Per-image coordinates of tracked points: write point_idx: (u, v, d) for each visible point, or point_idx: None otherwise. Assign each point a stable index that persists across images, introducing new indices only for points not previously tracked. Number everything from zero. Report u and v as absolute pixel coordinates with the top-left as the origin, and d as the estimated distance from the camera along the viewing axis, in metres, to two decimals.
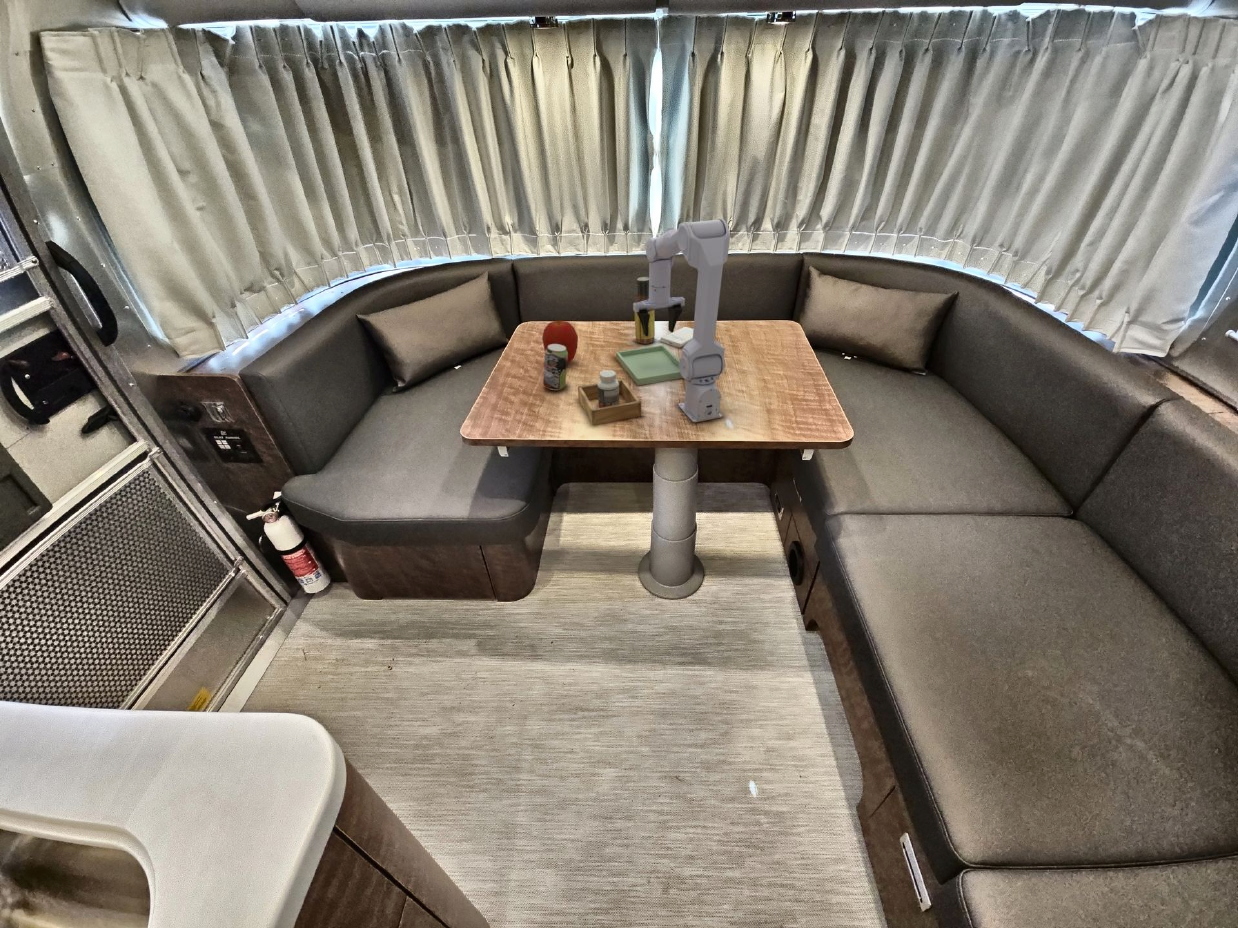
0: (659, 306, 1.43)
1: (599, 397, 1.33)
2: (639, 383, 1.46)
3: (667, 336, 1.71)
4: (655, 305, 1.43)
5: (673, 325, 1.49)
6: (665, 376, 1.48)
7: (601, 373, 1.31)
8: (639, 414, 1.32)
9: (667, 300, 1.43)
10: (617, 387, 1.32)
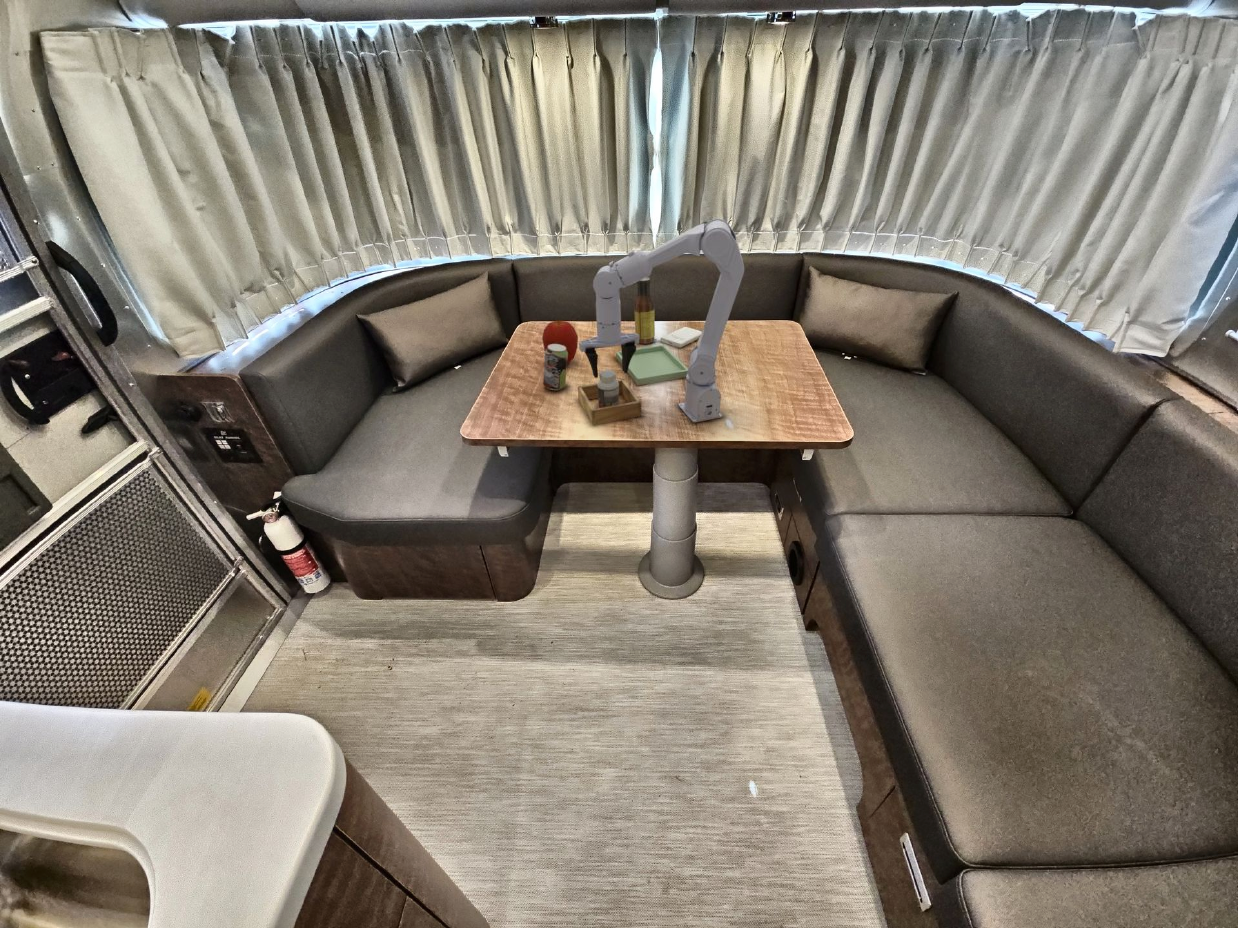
0: (608, 345, 1.25)
1: (599, 397, 1.33)
2: (639, 383, 1.46)
3: (667, 336, 1.71)
4: (603, 344, 1.25)
5: (626, 365, 1.31)
6: (665, 376, 1.48)
7: (601, 373, 1.31)
8: (639, 414, 1.32)
9: (617, 338, 1.25)
10: (617, 387, 1.32)
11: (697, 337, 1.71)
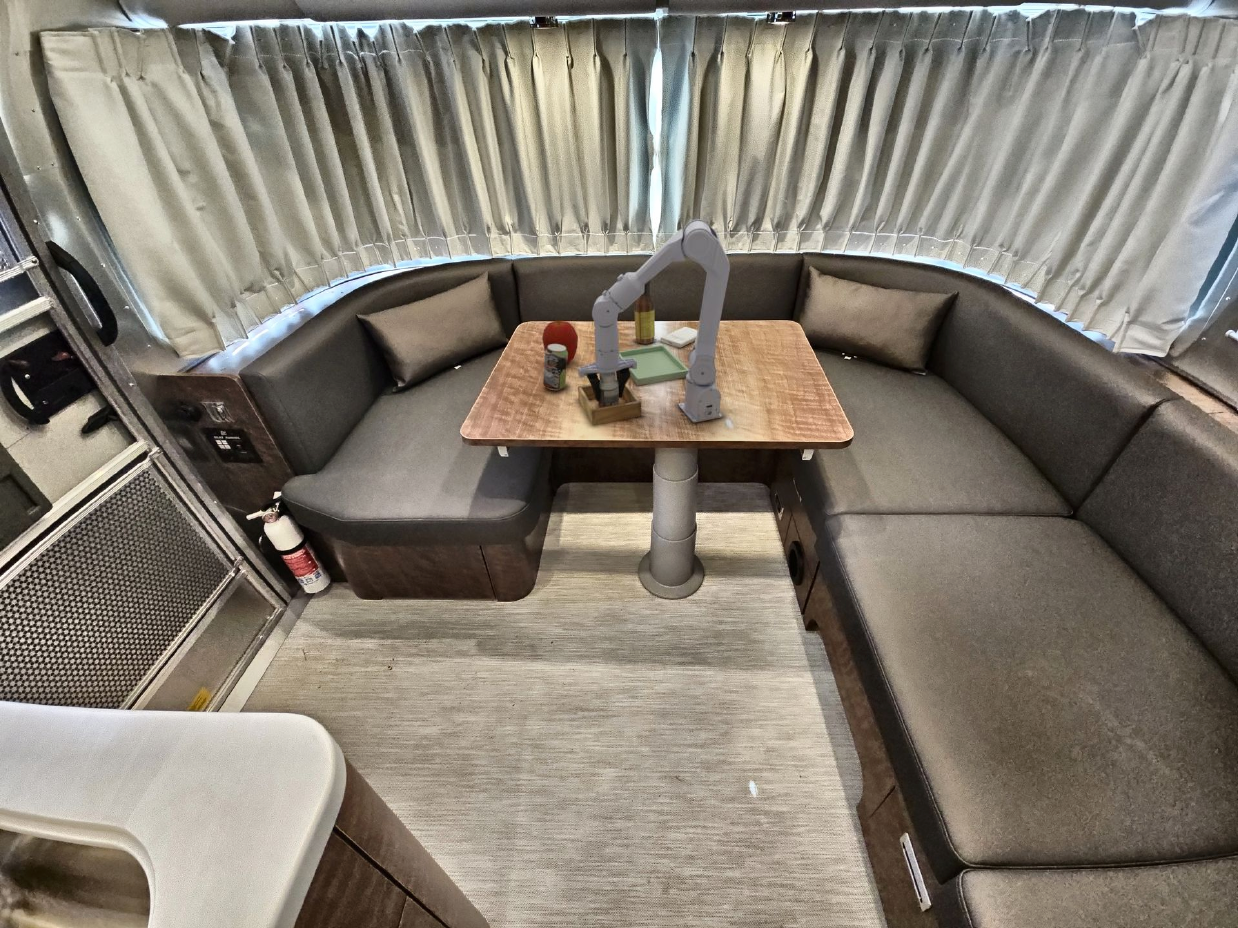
0: (607, 371, 1.27)
1: None
2: (639, 383, 1.46)
3: (667, 336, 1.71)
4: (602, 370, 1.27)
5: (621, 390, 1.33)
6: (665, 376, 1.48)
7: (601, 373, 1.31)
8: (639, 414, 1.32)
9: (616, 364, 1.28)
10: (617, 387, 1.32)
11: None
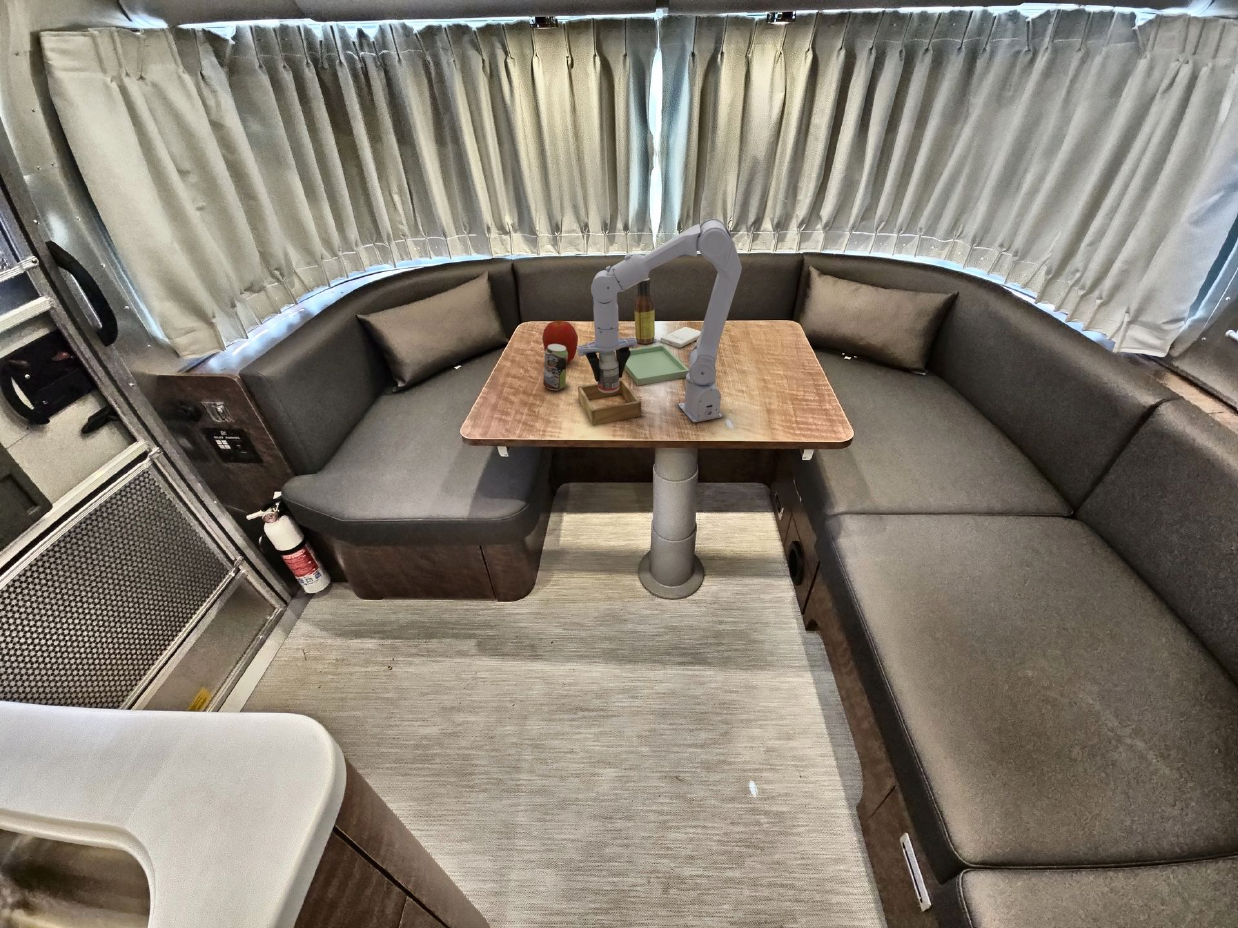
0: (606, 350, 1.24)
1: None
2: (639, 383, 1.46)
3: (667, 336, 1.71)
4: (601, 349, 1.24)
5: (621, 370, 1.30)
6: (665, 376, 1.48)
7: (600, 352, 1.28)
8: (639, 414, 1.32)
9: (615, 343, 1.25)
10: (617, 367, 1.29)
11: (697, 337, 1.71)
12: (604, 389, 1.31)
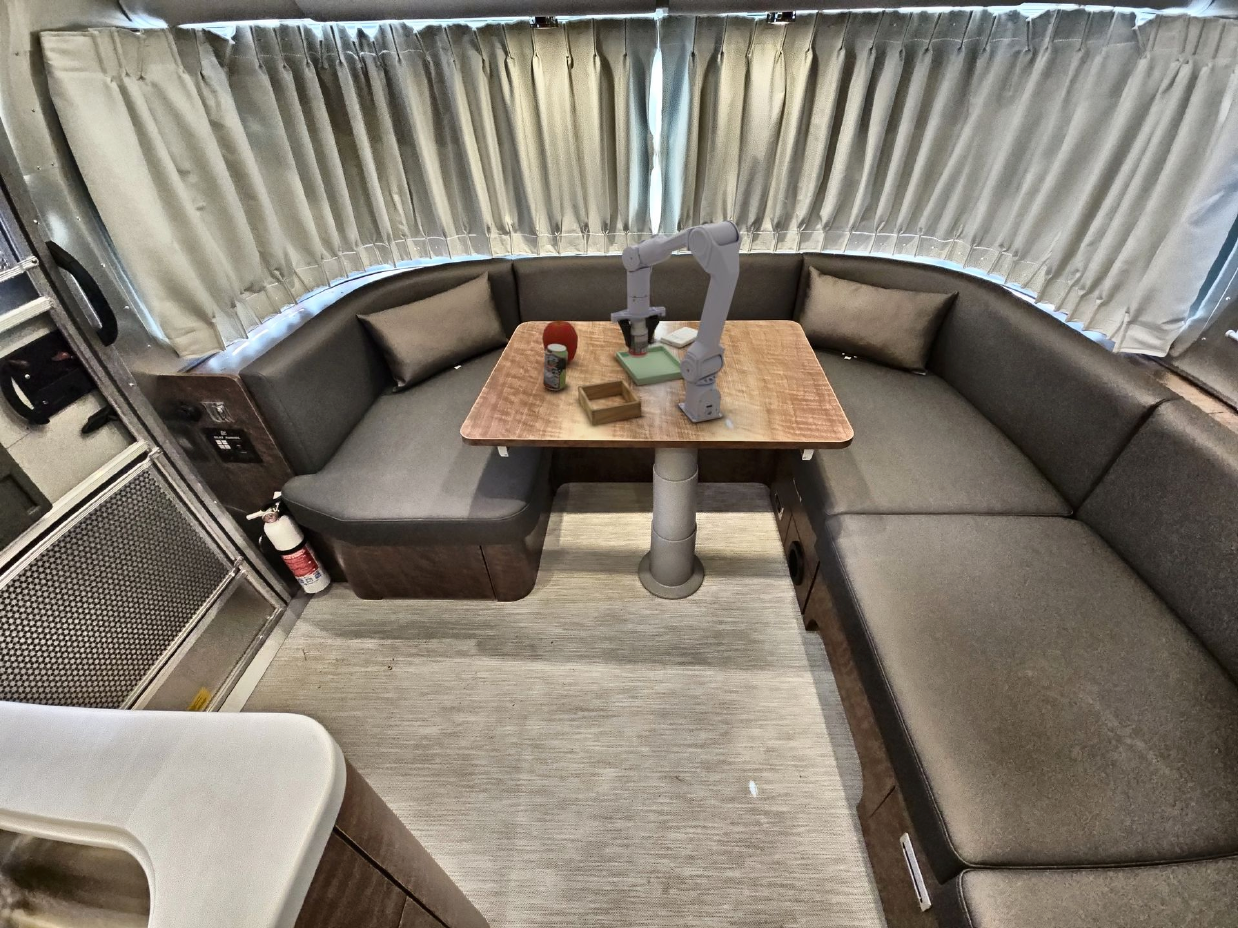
0: (638, 317, 1.36)
1: None
2: (639, 383, 1.46)
3: (667, 336, 1.71)
4: (634, 316, 1.36)
5: (650, 336, 1.42)
6: (665, 376, 1.48)
7: (632, 320, 1.40)
8: (639, 414, 1.32)
9: (646, 310, 1.36)
10: (646, 333, 1.40)
11: None
12: (634, 354, 1.43)
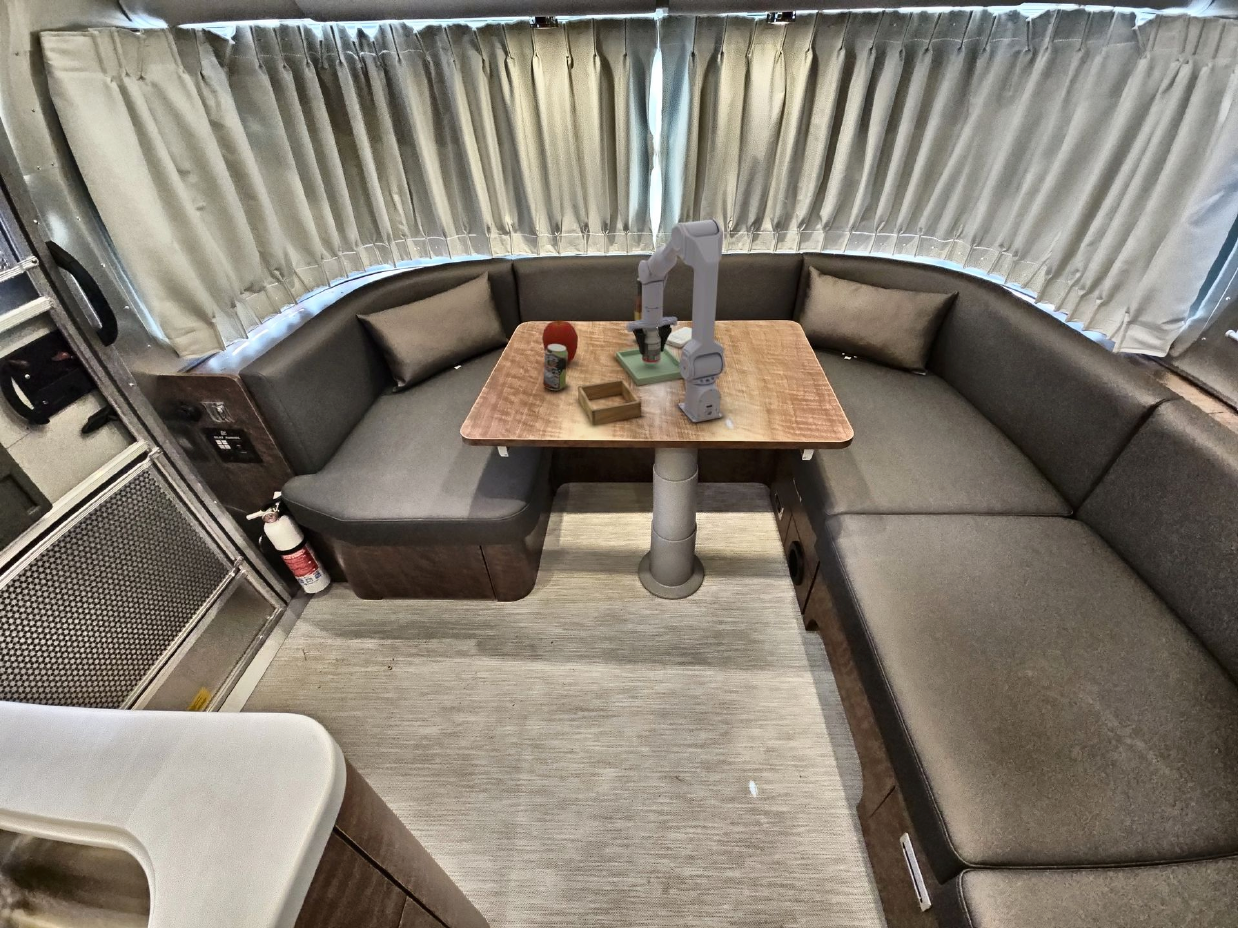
0: (652, 326, 1.46)
1: None
2: (639, 383, 1.46)
3: None
4: (648, 325, 1.46)
5: (663, 345, 1.52)
6: (665, 376, 1.48)
7: (646, 329, 1.49)
8: (639, 414, 1.32)
9: (660, 320, 1.46)
10: (659, 341, 1.50)
11: None
12: (648, 361, 1.52)
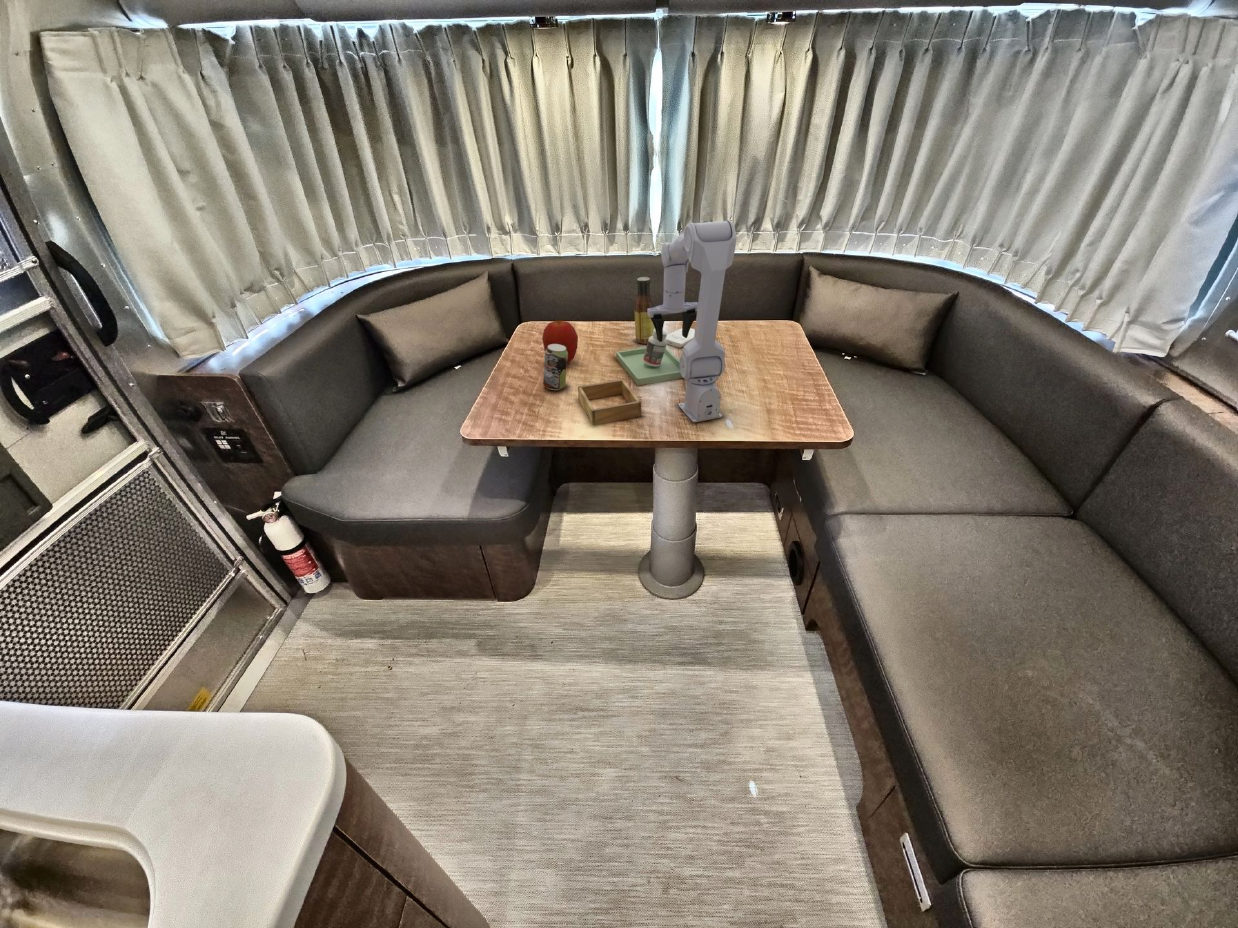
0: (674, 311, 1.42)
1: (647, 351, 1.52)
2: (639, 383, 1.46)
3: (667, 336, 1.71)
4: (670, 310, 1.42)
5: (687, 330, 1.48)
6: (665, 376, 1.48)
7: None
8: (639, 414, 1.32)
9: (682, 305, 1.42)
10: (665, 345, 1.51)
11: None
12: (649, 362, 1.53)
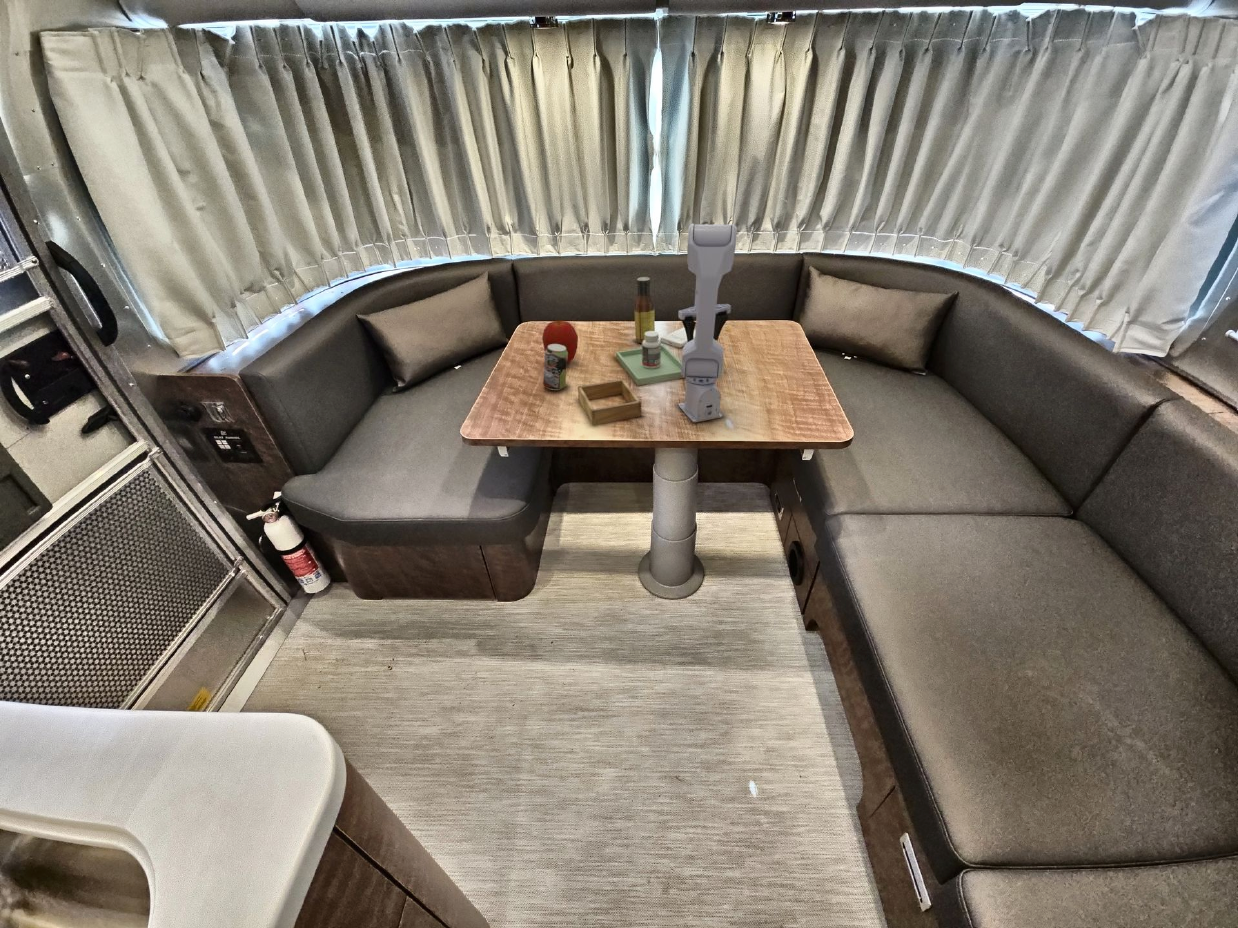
0: None
1: (643, 355, 1.53)
2: (639, 383, 1.46)
3: (667, 336, 1.71)
4: None
5: (718, 333, 1.46)
6: (665, 376, 1.48)
7: (646, 333, 1.50)
8: (639, 414, 1.32)
9: None
10: (659, 346, 1.51)
11: None
12: (648, 365, 1.53)
